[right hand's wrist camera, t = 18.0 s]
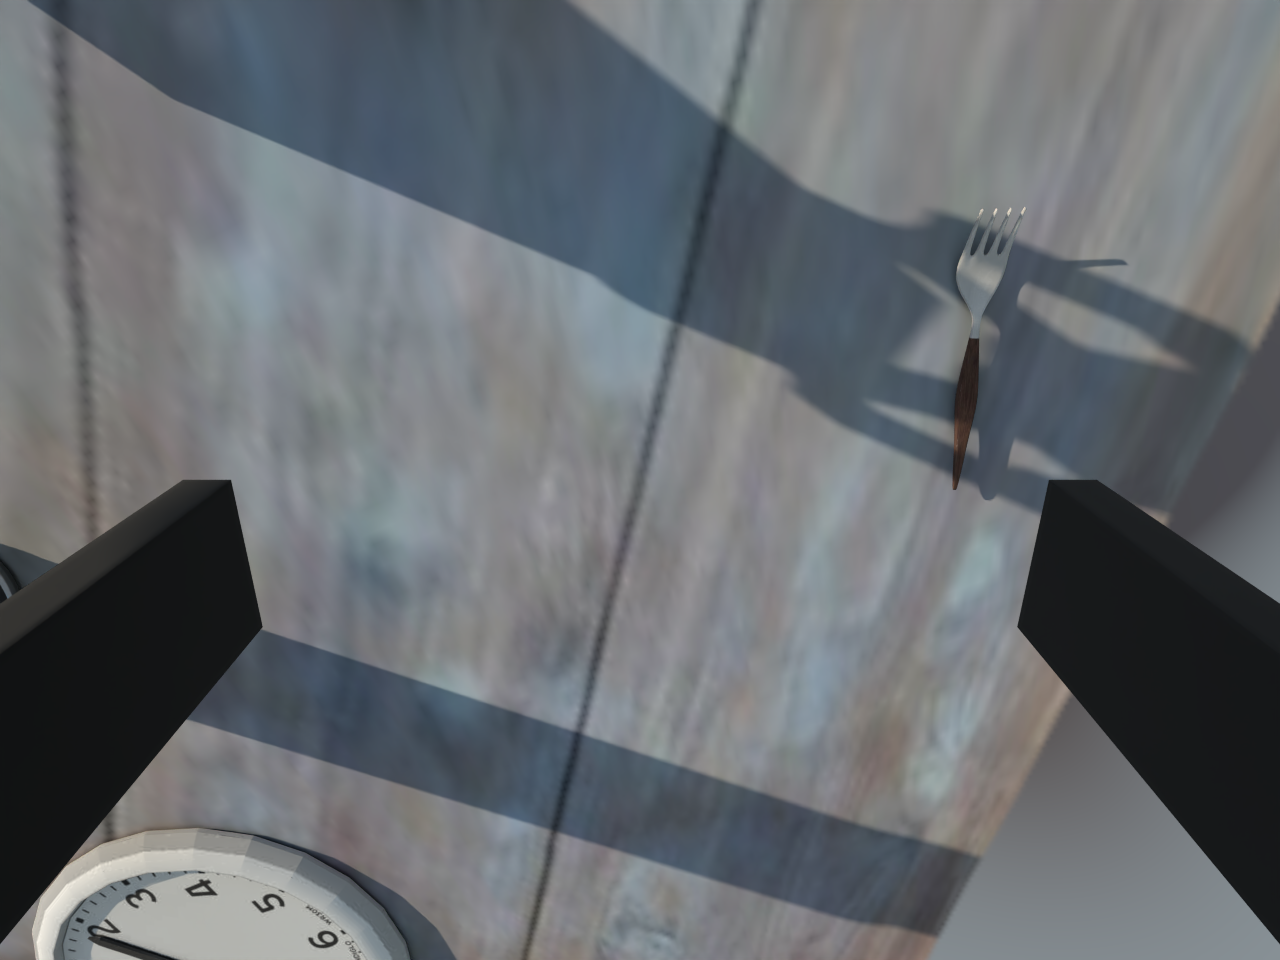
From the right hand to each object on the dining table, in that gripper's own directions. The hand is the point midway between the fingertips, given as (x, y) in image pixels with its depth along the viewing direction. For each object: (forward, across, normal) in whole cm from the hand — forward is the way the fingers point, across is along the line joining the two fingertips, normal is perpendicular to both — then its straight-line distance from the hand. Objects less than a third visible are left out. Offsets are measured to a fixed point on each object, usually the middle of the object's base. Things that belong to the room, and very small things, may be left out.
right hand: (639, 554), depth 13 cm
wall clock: (+32, -33, -54) cm, 71 cm away
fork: (+32, +18, -4) cm, 37 cm away
